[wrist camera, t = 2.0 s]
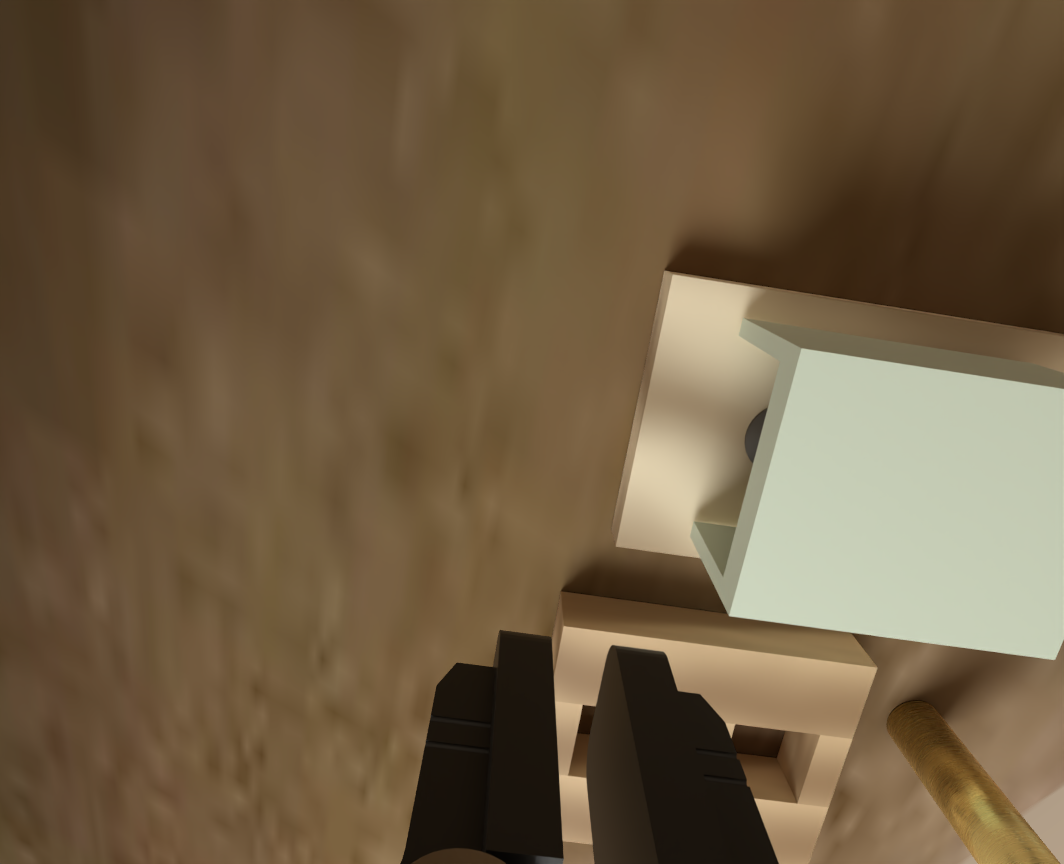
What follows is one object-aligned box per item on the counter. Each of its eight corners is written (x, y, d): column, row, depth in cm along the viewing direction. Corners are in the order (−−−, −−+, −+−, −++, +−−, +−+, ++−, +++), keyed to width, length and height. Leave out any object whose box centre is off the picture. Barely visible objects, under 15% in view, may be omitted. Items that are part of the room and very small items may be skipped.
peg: (895, 697, 30) (1040, 891, 22) (945, 704, 30) (1108, 899, 22) (880, 739, 31) (1014, 944, 22) (928, 745, 31) (1081, 951, 23)
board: (664, 270, 25) (688, 282, 21) (1072, 335, 26) (1167, 357, 22) (611, 529, 28) (624, 579, 24) (978, 580, 29) (1047, 637, 25)
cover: (742, 317, 24) (801, 348, 18) (1031, 363, 24) (1166, 404, 19) (689, 536, 26) (728, 616, 21) (954, 573, 26) (1054, 660, 21)
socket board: (560, 591, 29) (563, 625, 26) (849, 630, 29) (877, 667, 27) (523, 788, 32) (523, 836, 29) (786, 820, 32) (806, 869, 30)
